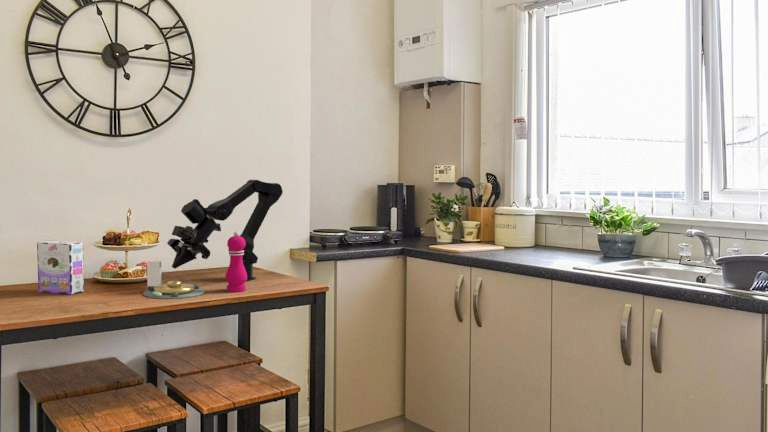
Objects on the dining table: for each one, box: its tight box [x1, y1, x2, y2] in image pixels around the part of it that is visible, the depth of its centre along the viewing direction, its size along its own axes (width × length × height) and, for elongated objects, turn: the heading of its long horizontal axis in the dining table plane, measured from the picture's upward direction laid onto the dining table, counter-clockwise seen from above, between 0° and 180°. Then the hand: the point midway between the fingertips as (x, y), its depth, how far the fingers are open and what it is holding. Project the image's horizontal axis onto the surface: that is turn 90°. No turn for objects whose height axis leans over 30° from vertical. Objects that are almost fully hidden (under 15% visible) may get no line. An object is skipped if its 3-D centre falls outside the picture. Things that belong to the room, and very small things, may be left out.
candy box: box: [36, 240, 85, 295], centre depth 216 cm, size 14×6×16 cm, turn 71°
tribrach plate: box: [143, 284, 205, 300], centre depth 218 cm, size 19×19×2 cm
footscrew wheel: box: [146, 260, 195, 294], centre depth 218 cm, size 15×13×9 cm
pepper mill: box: [224, 230, 247, 293], centre depth 224 cm, size 7×7×20 cm
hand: (173, 267), depth 224 cm, fingers closed
